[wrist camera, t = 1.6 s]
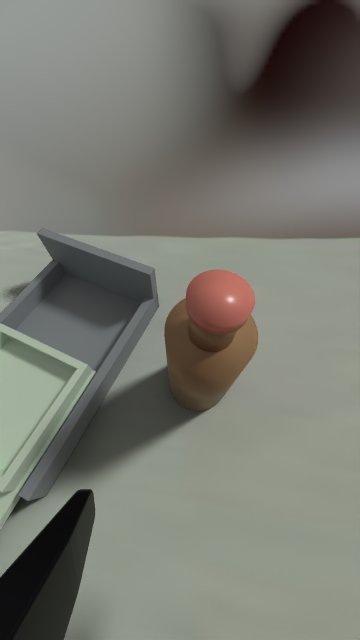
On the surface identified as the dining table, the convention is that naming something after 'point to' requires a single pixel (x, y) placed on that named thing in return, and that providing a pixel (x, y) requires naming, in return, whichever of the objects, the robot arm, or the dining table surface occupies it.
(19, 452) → the tray
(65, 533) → the robot arm
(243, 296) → the vinegar bottle
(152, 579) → the dining table surface
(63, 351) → the dock
